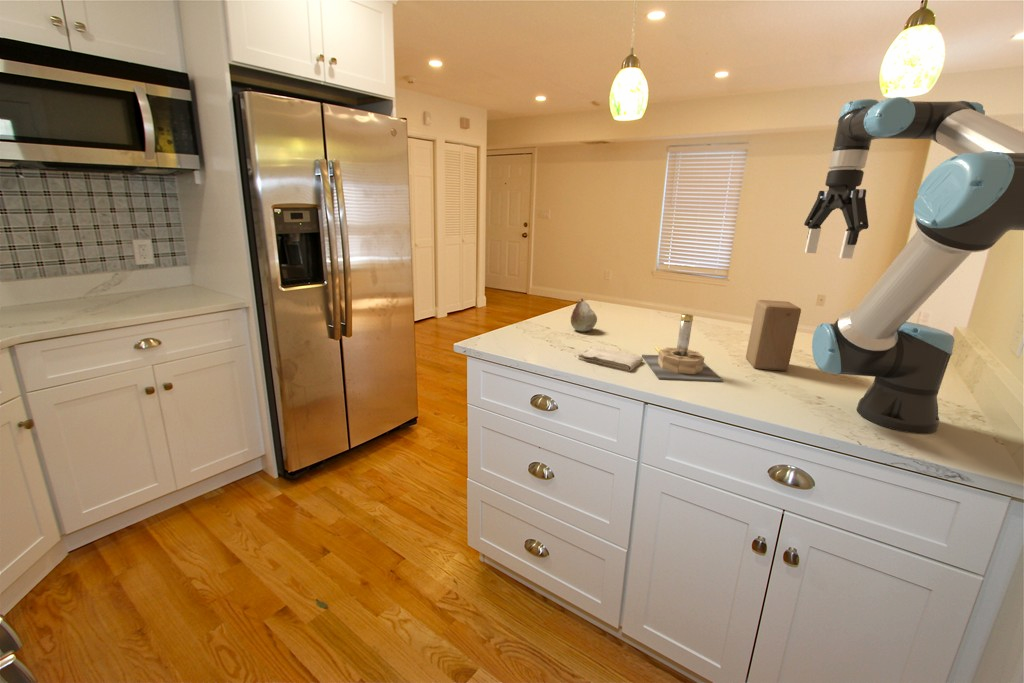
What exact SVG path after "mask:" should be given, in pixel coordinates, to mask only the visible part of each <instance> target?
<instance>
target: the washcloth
mask: <svg viewBox="0 0 1024 683" xmlns="http://www.w3.org/2000/svg"><path fill="white" fill-rule="evenodd" d="M577 359H579V360H580V361H583V362H585V363H586V362H587V363H590V364H593V365H598V366H602V367H607V368H611V369H616V370H620V371H624V372H632V371H633V370H634V369H635V368H636V367H638V366H639V365H640V364H641V363H643V361H644V359H643V357H642V355H637V354H633V353H628V352H625V351H621V350H616V349H613V348H612V349H611V348H607V347H601V346H598V345H593V346H590V347H589V348H588V349H585V350H584V351H582V352H580V353H578V357H577Z"/></svg>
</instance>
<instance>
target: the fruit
mask: <svg viewBox="0 0 1024 683" xmlns="http://www.w3.org/2000/svg"><path fill="white" fill-rule="evenodd" d="M597 320H598V316H597V315H596V313H595V311H594V310H593V309H592V308H591V306H590V304H588V302H587V301H585V300H584V298H580V301H578V302H577V303H576V304H575V306H574V309H573V311H572V313H571V315H570V324H571V327H572V328H573V330H575V331H577V332H582V333H583V332H589V331H591V330H593V328H594V327H595V326H596V325H597V322H598V321H597Z"/></svg>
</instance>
